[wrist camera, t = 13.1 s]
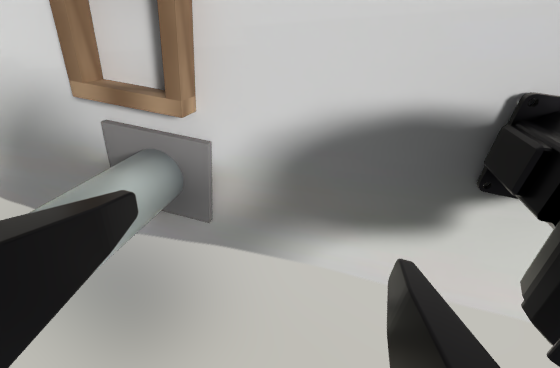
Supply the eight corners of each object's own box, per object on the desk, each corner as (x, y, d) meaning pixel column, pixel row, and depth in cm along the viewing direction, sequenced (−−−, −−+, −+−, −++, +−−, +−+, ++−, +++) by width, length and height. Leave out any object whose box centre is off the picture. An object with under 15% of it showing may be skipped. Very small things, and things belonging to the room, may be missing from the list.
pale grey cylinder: (182, 155, 24) (29, 264, 13) (184, 204, 26) (58, 330, 15) (129, 143, 24) (-59, 236, 13) (136, 191, 27) (-18, 304, 16)
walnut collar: (190, -38, 18) (172, -46, 16) (195, 111, 22) (182, 117, 21) (63, -51, 19) (34, -59, 17) (93, 91, 24) (73, 96, 22)
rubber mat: (211, 141, 23) (208, 144, 23) (212, 219, 27) (209, 222, 27) (106, 119, 25) (100, 121, 24) (121, 196, 29) (117, 199, 28)
